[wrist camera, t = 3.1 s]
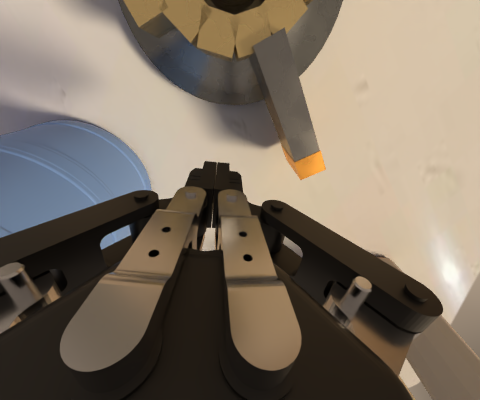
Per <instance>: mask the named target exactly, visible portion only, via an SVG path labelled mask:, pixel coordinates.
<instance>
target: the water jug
mask: <svg viewBox="0 0 480 400" xmlns="http://www.w3.org/2000/svg"><path fill="white" fill-rule="evenodd" d="M138 190H150V191H151V184H150V180H149V176H148V174H147V171H146V169H145V167H144V165H143V164H142V162H141V161H140V159H139V158H138V157H137V155H136V154H135V153H134V152H133V151H132V150H131V149H130V148H129V147H128V146H127V145H126V144H125V143H124V142H122V141H121V140H120V139H119V138H117V137H116V136H114V135H112V134H111V133H109V132H107V131H105V130H103V129H101V128H99V127H96V126H94V125H91V124H88V123H84V122H79V121H72V120H55V121H49V122H45V123H41V124H37V125H34V126H31V127H29V128H27V129H24V130H20V131H16V132H12V133H8V134H4V135H0V238H1V237H4V236H7V235H10V234H13V233H16V232H19V231H21V230H24V229H27V228H30V227H33V226H36V225H39V224H42V223H44V222H47V221H50V220H53V219H56V218H59V217H62V216H65V215H67V214H70V213H73V212H76V211H79V210H82V209H85V208H88V207H90V206H93V205H96V204H99V203H102V202H105V201H108V200H110V199H113V198H116V197H119V196H122V195H125V194H128V193H131V192H134V191H138ZM130 235H131V233H130V228H129V225H127V226H125V227H123V228H121V229H119V230H116V231H114V232H112V233H110V234H108V235H106V236H105V237H104V238H103V239H102V240H101V243H100V247H101V250H102V249H104V248H106V247H108V246H110V245H112V244H114V243H116V242H118V241H120V240H122V239H124V238H126V237H128V236H130Z"/></svg>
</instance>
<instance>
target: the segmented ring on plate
mask: <svg viewBox="0 0 480 400" xmlns="http://www.w3.org/2000/svg"><path fill="white" fill-rule="evenodd" d="M312 1H313V0H265V1H264V2H263V3H262V5H261V6H259V7H256V8H253V9H250V10H247V11H245V12H242V13H239V14H236V15H233V14H230V13H227V12H225V11H222V10H219V9H216V8H213V7H210V6H208V5H207V4H206V2H205V1H204V0H124V2H125V4H126V6H127V7H128V9H129V11H130V13H131V15H132V16H133V18H134V20H135V22H136V23H137V25H138V27H139V28H141V29H143V30H145V31H146V32H148V33H150V34H152V35H153V36H155V37H157V38H161V37H162V36H164V35H165V34H167V33H169V32H170V31H172V30H173V29H175V28H177V29H178V30H179V31H180V32H181V33H182V34H183V35H184V36H185V37H186V38H187V40H188V41H189V42H190V43H191V44H192V45H193V46H195V47H196V48H197V49H198V50H200V51H202V52H203V53H204V54H207V55H210V56H213V57H216V58H219V59H223V60H226V61H229V62H232V57H233V52H234V53H235V58H236V62H239V61H242V60H245V59H248V58H249V60H250V63H251V65H252V68H253V71H254V73H255V76H256V79H257V81H258V84H259V86H260V89H261V92H262V94H263V97H264V100H265V102H266V105H267V108H268V110H269V113H270V116H271V118H272V121H273V124H274V126H275V129H276V132H277V134H278V137H279V139H280V142H281V146H282V149H283V151H284V154H285V157H286V159H287V161H288V163H289V164H290V165H291V167H292V168H293V170H294V171H295V173H296V174H297V175H298V177H299V178H300V180H302V179H304V178H307V177H309V176H311V175H314V174H316V173H318V172H321V171H323V170H325V169H326V168H325V165H324V161H323V158H322V154H321V151H320V150H319V146H318V143H317V139H316V136H315V132H314V129H313V125H312V122H311V118H310V115H309V111H308V108H307V104H306V101H305V97H304V94H303V90H302V87H301V83H300V80H299V76H298V73H297V69H296V66H295V62H294V59H293V55H292V52H291V48H290V44H289V41H288V37H287V33H288V31H289V30H290V29H291V28H292V27H293V26H294V25H295V23H296V22H297V21H298V20H299V19H300V18H301V16H302V15H303V14H304V13H305V12H306V11H307V9H308V8H307V5H308V4H309V3H310V2H312Z"/></svg>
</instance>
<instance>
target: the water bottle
mask: <svg viewBox="0 0 480 400" xmlns="http://www.w3.org/2000/svg"><path fill="white" fill-rule="evenodd" d="M377 258H379V259H381V260H382V261H384V262H386V263H387V264H389V265H391V266H393V267H394V268H396V269H398V270H399V271H401V270H400V268H399V267H398V266H397V265H396V264H395V263H394V262H393V261H391V260H390V259H389V258H382V257H377ZM401 272H402V271H401ZM406 358H407V360H408V362H409V363H410V365H411V366H412V368H413V370H414V371H415V373H416V374H417V376H418V377H419V379H420V381H421V382H422V384H423V385H424V387H425V389H426V390H427V391H428V393H429V395H430V396H431V398H432V399H433V400H480V358H479V357H478V356H477V355H476V354H475V352H474V351H473V350H472V349H471V348H470V347H469V346H468V345H467V343H466V342H465V341H464V340H463V339H462V338H461V337H460V336H459V335H458V334H457V332H456V331H455V330H454V329H453V328H452V327H451V326H450V324H449V323H448V322H447V321H446V320H445V319H444V318H443V317H442V315H440V316H439V317H438V318H437V319H436V320H435V321H434V322H433V323H432V324H431V325H430V326H429V327H427V328H426V329H425V330H424V331H423V332H422V333H421V334H420V335H419V336H418V337H417V338H416V339H415V340H414V341H413V342H412V343H411V345H410V348H409V350H408V353H407V355H406Z"/></svg>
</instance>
